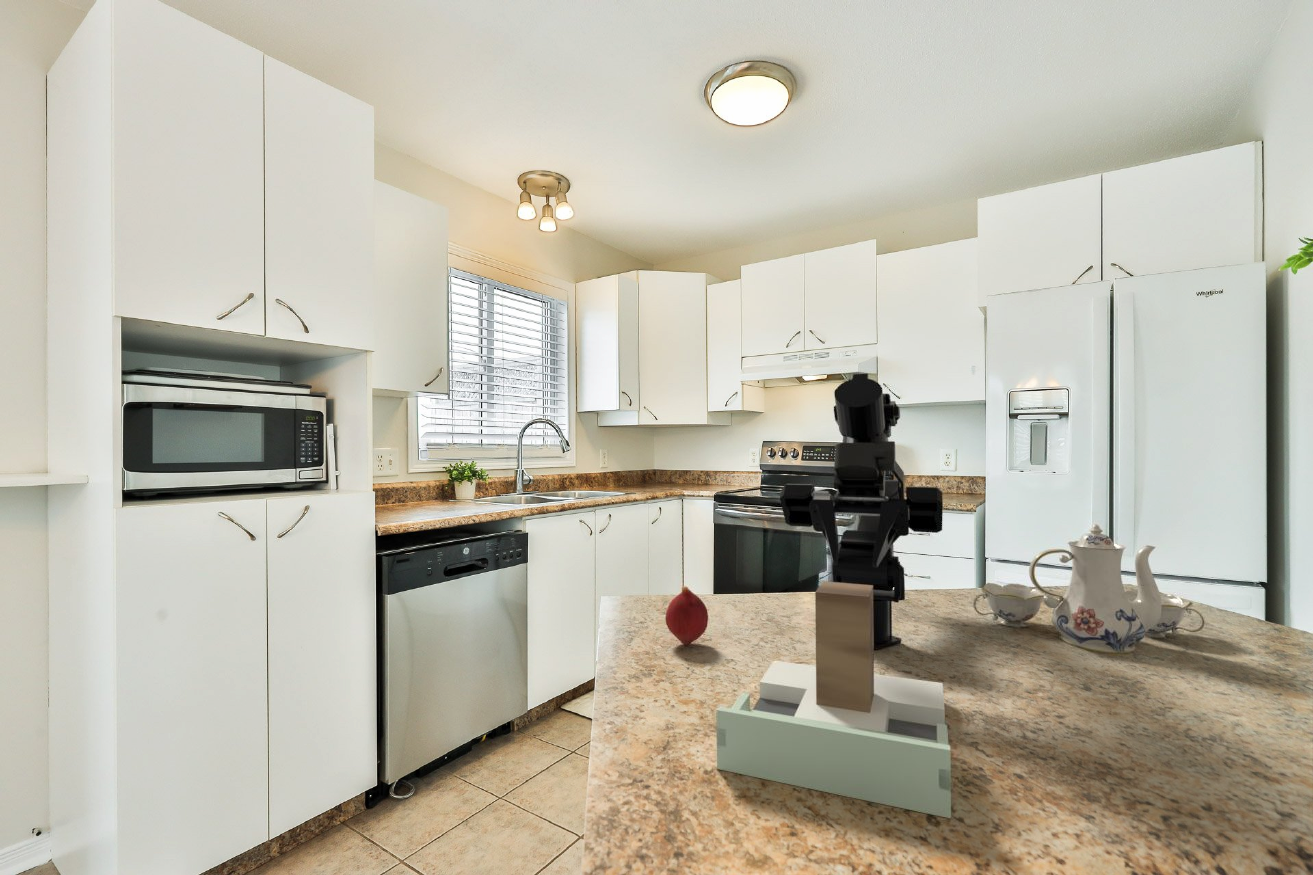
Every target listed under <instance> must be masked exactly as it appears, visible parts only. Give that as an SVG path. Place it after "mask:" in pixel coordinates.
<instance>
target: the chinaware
mask: <svg viewBox="0 0 1313 875" xmlns="http://www.w3.org/2000/svg"><path fill="white" fill-rule="evenodd" d="M1088 531H1090V532H1089V533H1085V534H1083V535H1082V536H1081V537H1080V538H1079V540H1075V541H1068V542H1067V544H1068V545H1069V548H1070V551H1069V550H1067V549H1063V548H1051V549H1046V550H1043V551H1040V552H1039V553H1037V555H1035V556H1034V557H1033V558H1032V560H1031V562H1030V564H1029V569H1028V574H1029V577H1030V578H1029V579H1030V581H1031V583H1032V584H1033V586H1034V587H1035V588H1036V589H1032V588H1030V587H1028V586H1026V585H1024V584H1020V583H1008V584H1005V585H999V584H997V583H994V582H993V583H992V582H991V583H990V582H987V583H985V584H984V586H983V587H981V592H982V593H980V594H978V595H977V596H975V597H974V600H973V602H972V603H973V604H972V605H973V609H974V611H975V612H976V613H977V614H978V615H981V616H987V615H993V616H992V620H993V621H997V620H998V619H999V618H1000V619H1002V620H999V623H1001V624H1003V625H1004V626H1007V627H1013V628H1019V629H1020V628H1024V627H1028V625H1027V624H1025V623H1024V622H1027V621H1030V620H1031V619H1033V618H1034V617H1036V615H1037V614H1038V612H1039V611H1040V609H1041V605H1042V602H1043V603H1044V605H1045V606H1046V607H1048V608H1050V609H1052V616H1051V624H1052V625H1053V626H1054V628H1055V629H1056V631H1058V632H1059V633H1060V634H1061V635H1060V636H1059V638H1060V640H1061V641H1062V642H1064V644H1065V643H1066V644H1067V645H1070V646H1072V647H1075V648H1079V649H1083V650H1086V651H1092V652H1098V653H1106V654H1130V653H1133V652H1136V649H1137V648H1136V646H1135V645H1136V644H1138V643H1139V642H1141V640H1143V639H1144V638H1145V636H1146V637H1149V638H1162V639H1163V638H1164V639H1167V637H1166V635H1167V632H1169V631H1171V633H1172V634H1173V635H1175V636H1178V635H1180V631H1178V630H1183V631H1185V632H1190V633H1196V632H1199V631H1202V630H1203V628H1204V627H1205V625H1206V624H1205V617H1204V615H1203V614H1202V613H1201V612H1199V611H1198V610H1197V609H1194V608H1191V607H1192V606H1193V605H1194V604H1193V602H1192V601H1184V600H1182V598H1181V597H1180V596H1177V595H1174V594H1170V593H1169V594H1168V593H1162V594H1161V593H1160V589H1159V587H1158V585H1157V583H1156V580H1155V578H1154V575H1153V572H1152V569H1151V566H1150V564H1149V557H1150V554H1151V553H1152V552H1153V551H1154V550H1155V548H1156V546H1153V545H1145V546H1143V547H1142V548H1140V549H1139V550H1138V552H1137V553H1136V554H1135V555H1136V556H1135V560H1134V565H1135V566H1134V569H1135V576H1136V583H1137V584H1136V585H1137V589H1132V590H1127V591H1125V588H1124V585H1123V580H1122V579H1123V578H1122V557H1123V553H1124V550H1125V549H1126V548H1127V546H1125V545H1123V544H1122V545H1121V544H1118V543H1114V542H1113V541H1112V539H1111V537H1110V536H1108V535H1107V534H1103V529H1102V528H1100V525H1098V524H1095V523H1094V524H1093V525H1092V527H1091V528H1090V529H1088ZM1060 553H1063V554H1061V555H1059V557H1058V558H1059V561H1060V563H1063V564H1067V563H1069V562H1070V561H1072V568H1071V569H1072V570H1071V571H1072V572H1071V577H1070V582H1069V585H1068V587H1067V588H1066V591H1065V593H1064V594H1060V593H1058V592H1054V591H1050V590H1048V589H1046V588H1045V587H1043V586H1042V585H1041V584H1040V583H1039V582H1038V581H1037V577H1036V574H1035V571H1036V566H1037V564H1038V562H1039V561H1040V560H1041V559H1042V558H1043V557H1045V556H1048V555H1051V554H1060ZM1065 554H1067V555H1068V556H1067V555H1065ZM981 597H982V599H983V600H987V603H988V606H989V607H990V609H991V611H992V612H985V613H983V612H980V611H979V610H978V609H977V606H976V604H977V600H978V599H979V598H981ZM1055 597H1058V598H1057V599H1056V598H1055ZM1186 612H1187V613H1188V614H1189V615H1192V613H1193V612H1194V613H1196V614H1198V616H1200V619H1201V625H1200V626H1199V627H1198V628H1196V629H1188V628H1184V627H1182V626H1181V627H1180V626H1179V625H1180V624H1181V622H1182V620H1183V617H1184V615H1185V613H1186Z"/></svg>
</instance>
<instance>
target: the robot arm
mask: <svg viewBox="0 0 1313 875" xmlns="http://www.w3.org/2000/svg"><path fill="white" fill-rule="evenodd" d="M851 375H852V376H851V379H848V380H846V381H844V382H842V383H841V384H839V385H838V387H836V389H834V391H833V393H834V401H835V405H834V406H833V414H834V415H833V416H834V421H835V423H836V424H837V426H838V431H839V433H840V435H841V436H842V442H839V443H838V442H837V444H835V447H834V463H833V464H834V465H833V466H834V467H833V471H834V474H833V475H834V477H833V488H834V490H836V494H834V493H833V492H831V491H829V490H816V488H815V484H812V483H811V484H809V483H786V484H785V485H784V486H782V488H781V490H780V494H779V495H780V496H779V500H780V506H781V509H782V512H783V516H784V522H785V524H786V525H788V526H791V527H805V528H806V527H807V528H809V527H810V528H811V527H813V530H814V531H815V532H818V533H819V532H820V533H822V535H823V537H824V539H825V541H826V543H827V545H828V548H829V551H830V556H831V561H832V582H838V583H850V584H862V585H873V630H874V651H875V650H877V649H882V648H885V647H889V646H893V645H897V644H901V643H902V638H900V637H897V636H895V635H893V626H892V625H893V622H892V621H893V618H892V617H893V616H892V615H893V613H892V612H893V610H892V603H893V602H894V603H899V602H900V601H905V600H906V599H905V597H906V593H905V592H906V591H905V590H906V589H905V588H906V586H905V584H906V583H905V582H906V581H905V567H904V566H903V565H902V564H901V561H899V556H895V555H894V552H895V551H894V550H895V549H894V543H895V542H896V541H898V539H899V538H900V537H905V536H908V535H909V533H910V530H911V531H913V533H933V534H935V533H937V534H938V533H939V532H942V531H943V515H944V514H943V512H944V511H943V509H944V508H943V505H944V504H943V503H944V502H943V501H944V500H943V499H944V498H943V491H942V490H941V489H940V488H939V487H938V486H918V485H917V486H914V485H913V486H912V485H911V486H910V485H909V486H908V485H907V486H906V487H905V472H904V470H903V469H902V468H901V466H900V465H899V463H898V462H897V461H896V441H889V438H891V436H892V427H896V426H897V424H898V420H899V419H901V408H900V407H899V406H898V405H897V403H896V401H895V400H893V401H892V400H891V395H890V393H883V387H882V386H881V384H880V383H879V382H877V381H875V380H874V379H871V378H869V373H853V374H851ZM886 472H891V473H892V475H894V477H895V478H896V479H886ZM905 497H906V498H905ZM837 515H843V516H858V517H859V519H858V523H857V525H856V526H857V528H856V530H855V529H853V530H852V529H847V530H845V531H843V532H842V537H841V539H840V541H839V532H838V531H839V530H838V524H837ZM909 529H910V530H909ZM839 543H840V544H839Z"/></svg>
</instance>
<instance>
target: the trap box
mask: <svg viewBox="0 0 1313 875" xmlns="http://www.w3.org/2000/svg"><path fill="white" fill-rule="evenodd" d="M944 696H945V695H944V684H943V682H936V681H929V680H920V679H914V678H906V677H898V676H892V675H885V674H877V673H874V696H873V701H872V706H871V711H870V713H866V712H860V711H854V710H848V709H841V708H835V707H829V706H822V705H816V665H809V664H803V663H793V662H788V661H779V660H773V662H771V664H770V666H769V667H768V668H767V670H766V671H765V673H764V675H763V676H762V678H761V680H759V698H758V700H757V701H756V703H755V704H754V706H753V707H752V709H751V693H749V692H743V691H742V692H741V693H740V695H739V696H738V697H737V699H736V700H735V701H734V703H733V704H732V706H731V707H727V706H726V707H725V706H720V705H719V706H718V707H717V708H716V770H720V771H725V772H730V773H734V774H739V775H744V776H749V777H753V778H758V779H763V780H766V781H767V780H768V781H771V782H776V783H782V784H787V785H791V786H795V787H800V788H806V789H809V790H810V789H811V790H815V791H820V792H824V793H829V794H834V795H839V796H843V797H848V798H853V799H858V800H862V801H867V802H872V803H877V804H880V805H886V806H891V807H895V808H900V809H904V810H910V811H915V812H919V813H924V814H927V815H933V816H937V817H943V818H947V819H952V792H951V791H952V784H951V783H952V781H951V780H952V778H951V777H952V776H951V772H952V770H951V745H950V744H949V736H948V735H949V734H948V733H949V732H948V725H947V724H946V722H945V721H946V718H945V715H946V714H945V712H946V711H945V709H946V708H945V698H944Z"/></svg>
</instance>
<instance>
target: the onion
mask: <svg viewBox="0 0 1313 875" xmlns="http://www.w3.org/2000/svg"><path fill="white" fill-rule="evenodd" d="M664 618H665V624H666V626H667V629H668V630H669V632H670V634H672V635H673V636H674V637H675V638H676V639H677V640H678V641H679V642H680V643H681V644H682V645H685V646H688V645H690V644H692V643H693V642H695V641H697V639H699V638H701V637H702V635H703V634H704V633H705V632H706V630H707V628H708V624H709V622H708V621H709V612H708V609H707V607H706V605H705V603H704V602H703V600H702V599H701V598H700V597H699V596H698V595H697V594H694V592H693V591H692V590H691V589H689V587H688V586H686V585H682V587H681V592H680V593H679V594H677V595H676V596H675V597H674V598H673V599H672V600H671V601H670V603H669V604H668V606H667V609H666V612H665V617H664Z"/></svg>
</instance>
